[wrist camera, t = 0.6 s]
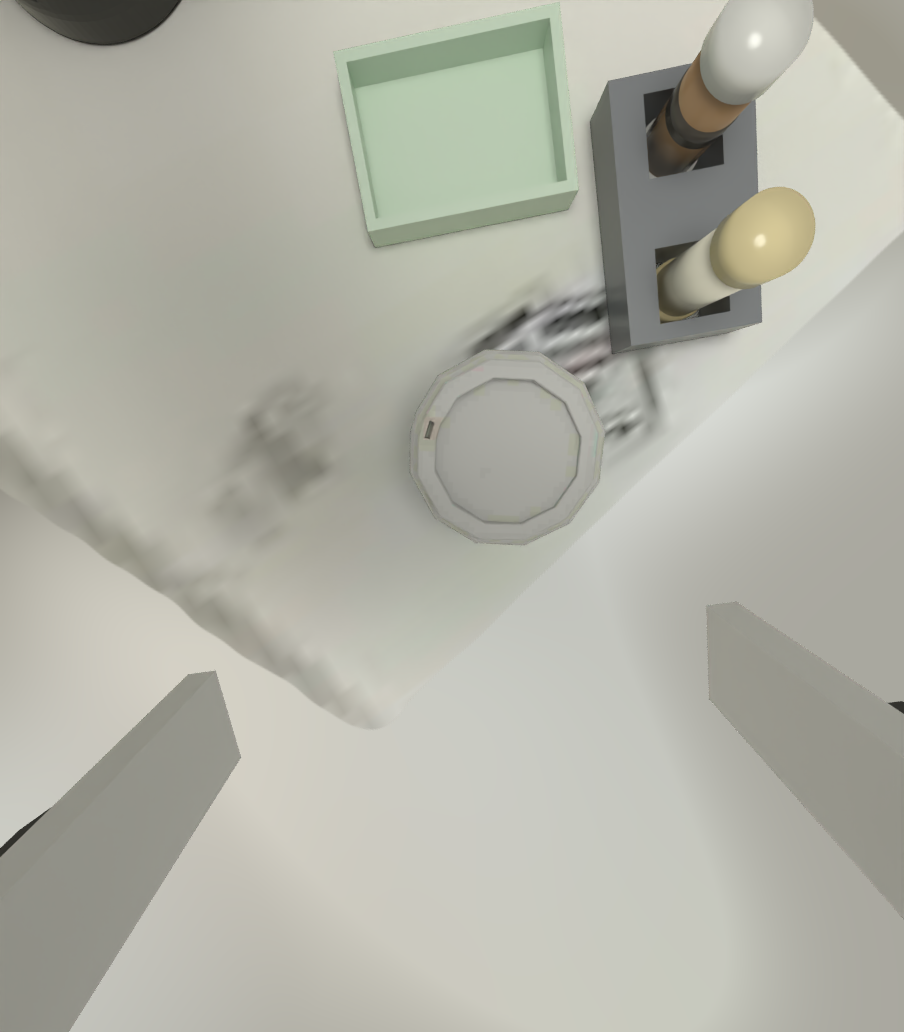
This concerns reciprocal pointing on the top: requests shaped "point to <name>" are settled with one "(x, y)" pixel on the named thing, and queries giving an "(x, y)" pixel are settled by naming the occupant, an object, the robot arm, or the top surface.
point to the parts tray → (461, 125)
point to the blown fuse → (726, 78)
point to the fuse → (738, 253)
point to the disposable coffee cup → (506, 447)
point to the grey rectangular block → (664, 211)
